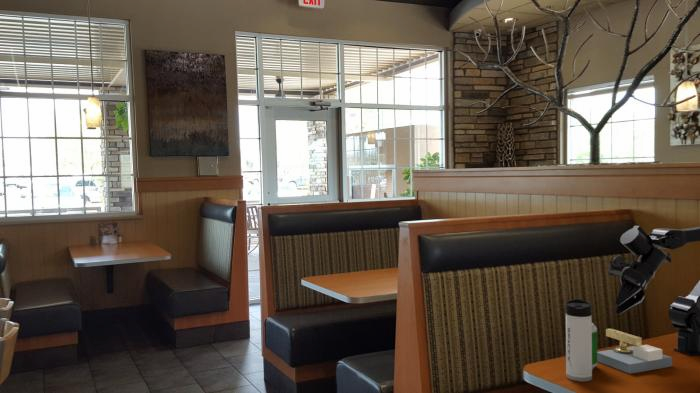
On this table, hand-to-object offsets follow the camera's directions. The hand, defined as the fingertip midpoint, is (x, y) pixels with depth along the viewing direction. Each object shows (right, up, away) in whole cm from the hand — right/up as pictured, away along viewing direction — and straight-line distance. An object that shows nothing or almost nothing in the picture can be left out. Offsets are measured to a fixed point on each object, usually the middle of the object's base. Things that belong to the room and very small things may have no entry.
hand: (616, 309), depth 166 cm
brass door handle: (+2, -12, 0) cm, 12 cm away
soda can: (-12, -15, -5) cm, 20 cm away
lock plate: (+3, -14, -3) cm, 15 cm away
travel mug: (-16, -15, -14) cm, 26 cm away
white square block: (+6, -12, -6) cm, 15 cm away
